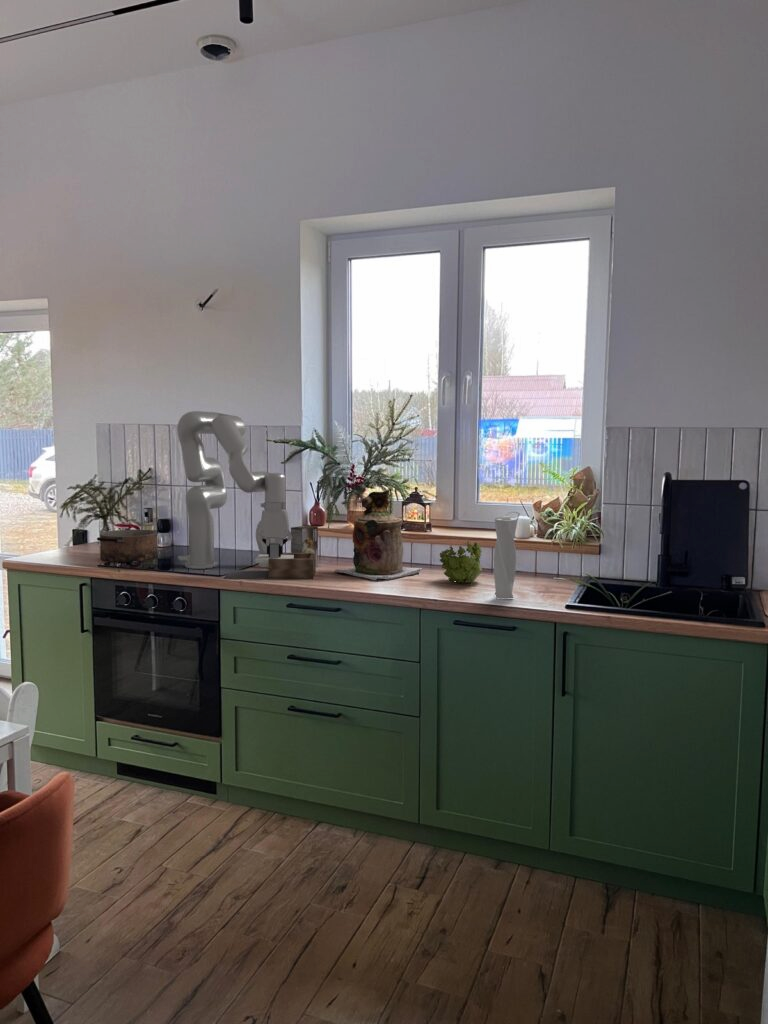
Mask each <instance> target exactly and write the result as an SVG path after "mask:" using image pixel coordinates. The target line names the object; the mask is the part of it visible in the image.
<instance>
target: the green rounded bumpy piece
mask: <svg viewBox="0 0 768 1024" xmlns="http://www.w3.org/2000/svg"><path fill="white" fill-rule="evenodd" d="M464 545H467V546H466V549H465V548H464V547H462V546H461V545H460V546H459V547H458V549H457V551H455V550H454V547H453V546H450V547H448V548H446V549H445V550H442V551H441V552H440V553H439V557H440V559H439V561H440V562H441V563H442V565H441V569H444V570H445V571H444V572H443V574H444V575H445V576H446V577H447V578H448V581H450V582H451V581H453V582H452V583H456V582H457V583H463V582H466V583H469V582H472V583H474V582H475V580H477V578H478V577H479V576H480V574H482V572H483V569H482V567H481V566H482V564H480V563H481V560H480V559H481V557H482V548H481V545H480V544H479V542H478V541H475V542H474V544H473V546H472V543H470V542H469V541H468V540H467V542H465V543H464ZM466 553H468V554H470V556H469V555H467V554H466ZM454 581H456V582H454Z"/></svg>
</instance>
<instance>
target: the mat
mask: <svg viewBox="0 0 768 1024" xmlns="http://www.w3.org/2000/svg"><path fill="white" fill-rule="evenodd" d="M268 577H269V569H267V570H263V569H261V570H259V569H258V570H257V569H254V570H253V569H251V570H248V569H246V570H245V569H238V570H237V569H231V570H229V571H228V572H227V574H226V575H225V576H224V577H223V579H224V580H225V579H228V580H231V579H234V580H238V579H240V580H241V579H242V580H243V579H245V580H266V579H267V578H268Z"/></svg>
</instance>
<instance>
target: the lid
mask: <svg viewBox="0 0 768 1024" xmlns="http://www.w3.org/2000/svg"><path fill="white" fill-rule="evenodd" d="M279 544H280V543H271V544H270V557H269V555H261V554H260V553H259V554H258V555H257V556H256V557H255V559H254V563H256V564H257V563H258V564H259V563H269V562H268V559H269V558H273V559H294V555H281V557H279Z"/></svg>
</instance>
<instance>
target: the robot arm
mask: <svg viewBox="0 0 768 1024" xmlns="http://www.w3.org/2000/svg"><path fill="white" fill-rule="evenodd" d="M176 430H177V431H176V433H177V437H178V440H179V443H180V447H181V454H182V455H181V456H182V462H183V466H184V473H185V476H186V479H187V480H188V481H189V482H192V483H204V484H202V485H194V486H192V487H191V488H189V489H188V490H187V492H186V494H185V504H186V509H187V516H188V517H187V518H188V519H187V520H188V555H187V554H186V556H184V555H178V557H177V560H178V562H185V564H184V567H185V568H186V569H195V570H198V569H199V570H200V569H202V570H203V569H204V570H205V569H206V568H207V569H212V568H213V567H214V568H217V567H219V562H218V561H215V528H214V527H215V524H214V523H215V521H214V516H213V515H212V512H211V510H214V509H219V508H222V507H224V506H225V504H226V503H227V499H228V498H227V497H228V493H227V486H226V479H225V473H224V469H223V465H222V464H221V462H220V461H219V460H218V459H216V458H214V457H210V456H209V457H207V456H206V452H205V446H204V443H203V441H202V439H201V438H200V437H199V435H200V434H203V435H204V434H206V435H214V437H215V438H216V439H217V441H218V443H219V445H220V446H221V447H222V449H223V451H224V452H225V454H227V456H228V463H227V464H228V470H229V474H230V477H231V478H232V479H233V481H234V482H235V484H236V485H237V487H238V488H239V489H240V490H241V491H242V492H244V493H247V494H249V493H250V494H251V493H261V492H264V502H263V503H260V508H263V507H264V508H263V510H262V512H261V517H260V520H261V530H260V532H259V534H258V536H257V539H259V540H261V541H263V542H264V543H265V544H266V546H267V554H269V557H270V539H271V538H279V542H280V544H279V557H281V554H283V553H284V551H283V550H284V545H285V544H286V543H287V542H289V541H291V539H292V538H293V536H292V535H291V530H290V523H289V521H290V520H289V514H288V513H289V512H288V510H286V475H285V474H284V473H282V472H268V471H263V470H262V471H250V470H249V469H248V467H247V465H246V464H245V462H244V458H243V456H244V455H246V454H247V452H248V450H249V444H248V443H247V441H246V440H245V438H244V435H245V433H246V430H247V427H246V423H245V421H244V419H242V418H241V417H240V416H238V415H237V416H236V415H230V414H225V413H220V412H215V411H200V410H199V411H198V410H197V411H196V410H195V411H194V410H192V411H188V412H187V413H185V414H183V415H182V416H181V417H180V418H179V420H178V424H177V428H176ZM265 538H266V539H265ZM283 538H285V539H284V540H283ZM214 568H213V569H214ZM207 569H206V570H207Z"/></svg>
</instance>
